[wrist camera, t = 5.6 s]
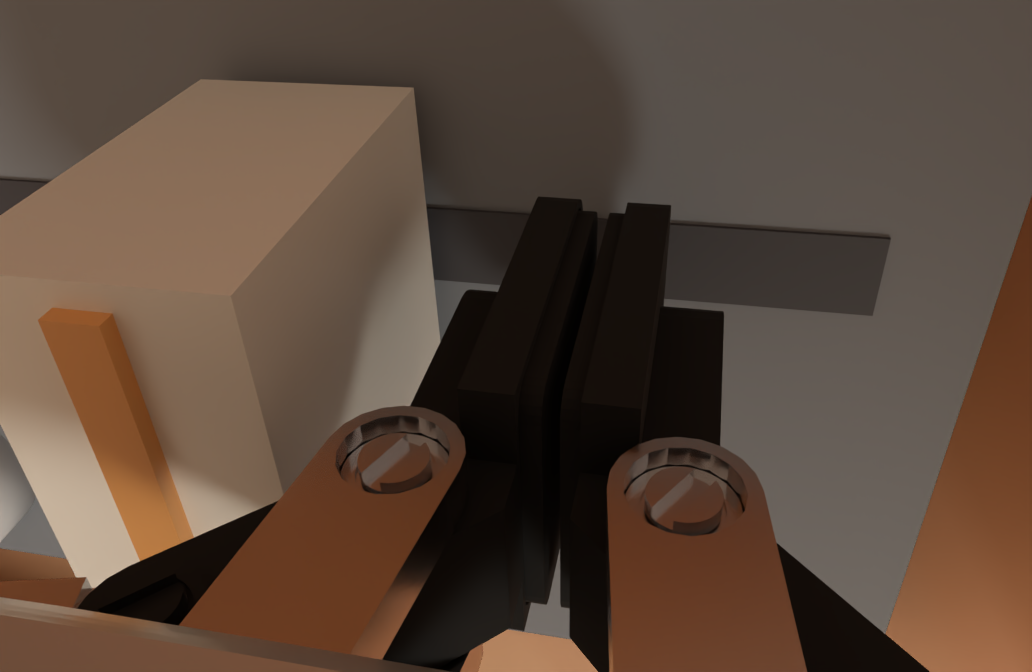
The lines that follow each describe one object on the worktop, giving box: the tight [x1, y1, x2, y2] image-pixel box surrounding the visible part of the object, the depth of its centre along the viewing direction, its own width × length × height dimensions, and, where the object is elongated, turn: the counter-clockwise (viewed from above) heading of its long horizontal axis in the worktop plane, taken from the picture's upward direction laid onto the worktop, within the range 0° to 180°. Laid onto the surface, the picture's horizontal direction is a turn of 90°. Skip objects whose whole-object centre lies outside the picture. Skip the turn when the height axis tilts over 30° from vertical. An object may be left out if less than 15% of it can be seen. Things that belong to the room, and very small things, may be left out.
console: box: [0, 0, 1032, 639], centre depth 14 cm, size 24×16×3 cm, turn 92°
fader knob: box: [0, 79, 440, 588], centre depth 11 cm, size 3×5×5 cm, turn 2°
